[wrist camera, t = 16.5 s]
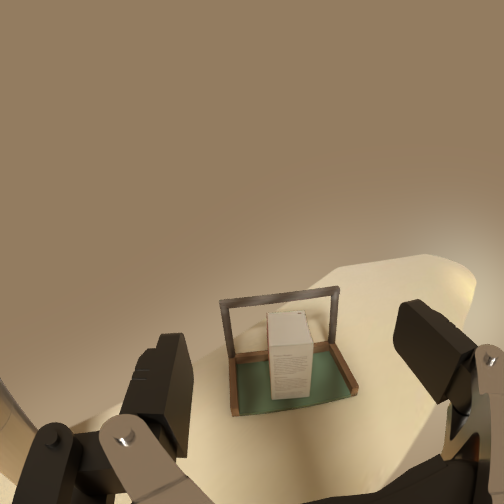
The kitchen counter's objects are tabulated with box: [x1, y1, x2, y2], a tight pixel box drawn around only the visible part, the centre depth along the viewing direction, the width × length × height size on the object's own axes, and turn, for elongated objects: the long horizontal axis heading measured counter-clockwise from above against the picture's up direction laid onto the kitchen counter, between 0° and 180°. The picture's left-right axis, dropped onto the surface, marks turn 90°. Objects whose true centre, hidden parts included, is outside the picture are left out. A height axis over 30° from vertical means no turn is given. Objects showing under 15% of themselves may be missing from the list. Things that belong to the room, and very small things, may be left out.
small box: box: [267, 310, 314, 400], centre depth 37 cm, size 8×6×10 cm
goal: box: [219, 286, 359, 417], centre depth 37 cm, size 18×12×12 cm, turn 95°
